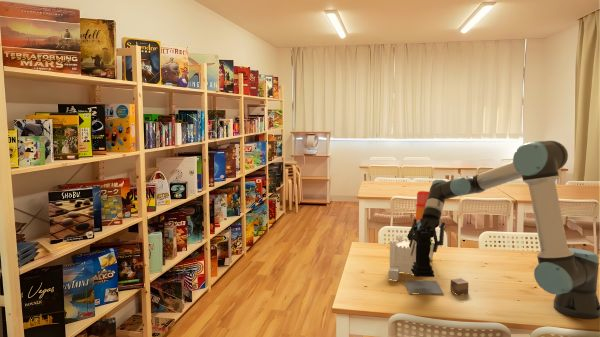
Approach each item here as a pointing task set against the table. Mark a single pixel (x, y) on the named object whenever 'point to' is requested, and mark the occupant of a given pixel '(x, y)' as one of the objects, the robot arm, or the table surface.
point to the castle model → (401, 254)
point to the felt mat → (423, 287)
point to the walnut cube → (459, 286)
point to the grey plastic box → (394, 272)
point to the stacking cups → (421, 206)
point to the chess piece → (423, 252)
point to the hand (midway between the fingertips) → (420, 256)
